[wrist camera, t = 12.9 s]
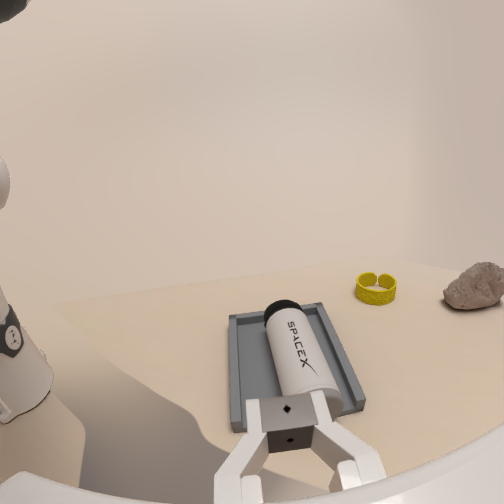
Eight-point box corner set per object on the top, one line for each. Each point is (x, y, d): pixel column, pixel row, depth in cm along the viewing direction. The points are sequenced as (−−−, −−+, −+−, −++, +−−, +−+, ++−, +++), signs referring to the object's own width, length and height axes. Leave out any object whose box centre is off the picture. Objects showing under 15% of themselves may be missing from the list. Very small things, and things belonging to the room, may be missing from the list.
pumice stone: (492, 290, 48) (502, 246, 44) (508, 309, 41) (521, 263, 37) (435, 295, 51) (444, 248, 47) (448, 317, 44) (460, 267, 40)
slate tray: (234, 432, 31) (230, 422, 30) (231, 326, 52) (228, 315, 51) (363, 410, 32) (366, 398, 31) (321, 313, 52) (321, 302, 51)
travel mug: (309, 436, 30) (279, 336, 48) (355, 406, 29) (309, 310, 47) (274, 421, 28) (253, 316, 46) (323, 388, 27) (284, 288, 45)
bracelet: (395, 307, 50) (397, 292, 49) (353, 304, 53) (354, 289, 52) (394, 287, 56) (396, 273, 55) (357, 284, 59) (357, 270, 58)
